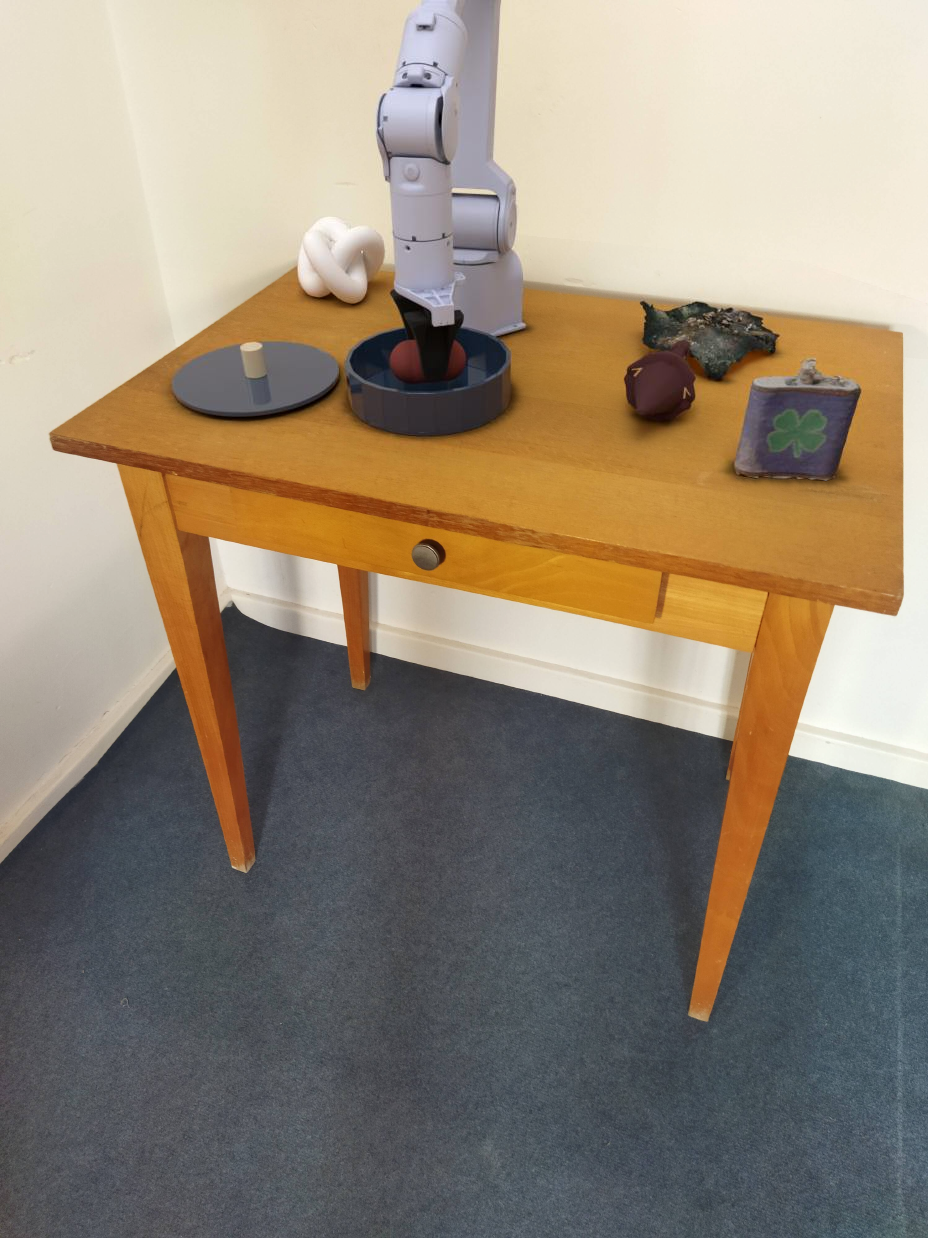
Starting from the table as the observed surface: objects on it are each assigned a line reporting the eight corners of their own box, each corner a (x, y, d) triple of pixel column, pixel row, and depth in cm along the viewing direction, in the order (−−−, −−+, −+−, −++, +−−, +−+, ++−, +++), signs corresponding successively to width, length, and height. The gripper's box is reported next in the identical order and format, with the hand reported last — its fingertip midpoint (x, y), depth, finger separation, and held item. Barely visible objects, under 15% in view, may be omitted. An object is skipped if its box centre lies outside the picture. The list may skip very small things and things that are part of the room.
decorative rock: (678, 274, 111) (800, 285, 104) (673, 323, 114) (791, 337, 107) (619, 314, 97) (755, 330, 91) (616, 369, 101) (747, 387, 94)
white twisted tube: (371, 273, 125) (365, 205, 119) (403, 300, 116) (398, 229, 111) (294, 286, 121) (284, 217, 115) (321, 315, 113) (312, 243, 107)
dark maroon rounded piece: (691, 395, 80) (724, 347, 91) (618, 362, 81) (658, 318, 92) (661, 459, 84) (696, 405, 96) (592, 427, 86) (634, 378, 97)
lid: (298, 337, 107) (293, 302, 105) (368, 392, 96) (365, 354, 93) (151, 374, 100) (142, 337, 97) (208, 438, 88) (199, 399, 86)
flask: (734, 477, 81) (758, 366, 74) (731, 461, 83) (753, 352, 76) (838, 482, 80) (872, 370, 73) (831, 465, 82) (863, 355, 75)
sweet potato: (389, 374, 95) (386, 334, 92) (463, 369, 95) (462, 329, 93) (392, 392, 91) (389, 351, 88) (468, 386, 92) (468, 346, 89)
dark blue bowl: (454, 351, 104) (453, 312, 101) (542, 406, 92) (544, 364, 90) (322, 388, 97) (317, 348, 94) (400, 452, 85) (397, 409, 83)
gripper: (485, 251, 79) (485, 392, 88) (443, 207, 90) (447, 337, 99) (408, 259, 78) (416, 401, 86) (376, 214, 88) (386, 345, 97)
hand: (428, 368), depth 92 cm, fingers closed on sweet potato, 5 cm apart
